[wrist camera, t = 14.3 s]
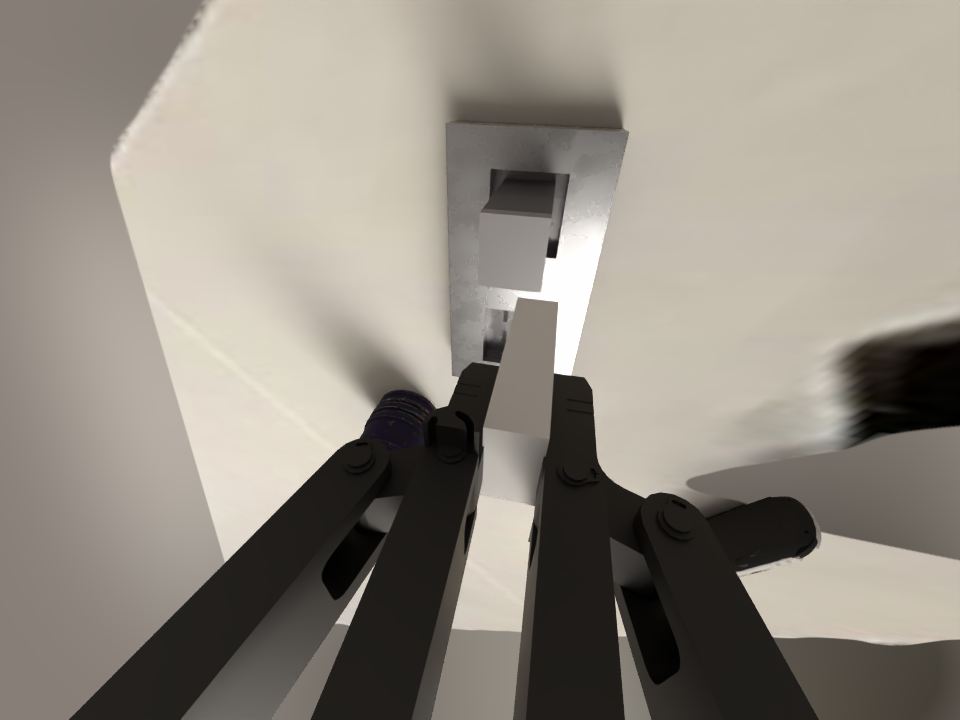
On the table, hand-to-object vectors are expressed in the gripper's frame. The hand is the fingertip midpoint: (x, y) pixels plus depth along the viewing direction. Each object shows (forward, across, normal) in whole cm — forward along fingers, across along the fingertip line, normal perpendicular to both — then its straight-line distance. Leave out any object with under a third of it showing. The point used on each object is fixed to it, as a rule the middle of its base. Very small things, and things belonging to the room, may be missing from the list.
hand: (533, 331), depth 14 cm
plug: (+23, -2, -1) cm, 23 cm away
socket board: (+24, -2, -8) cm, 25 cm away
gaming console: (+25, +32, -43) cm, 59 cm away
